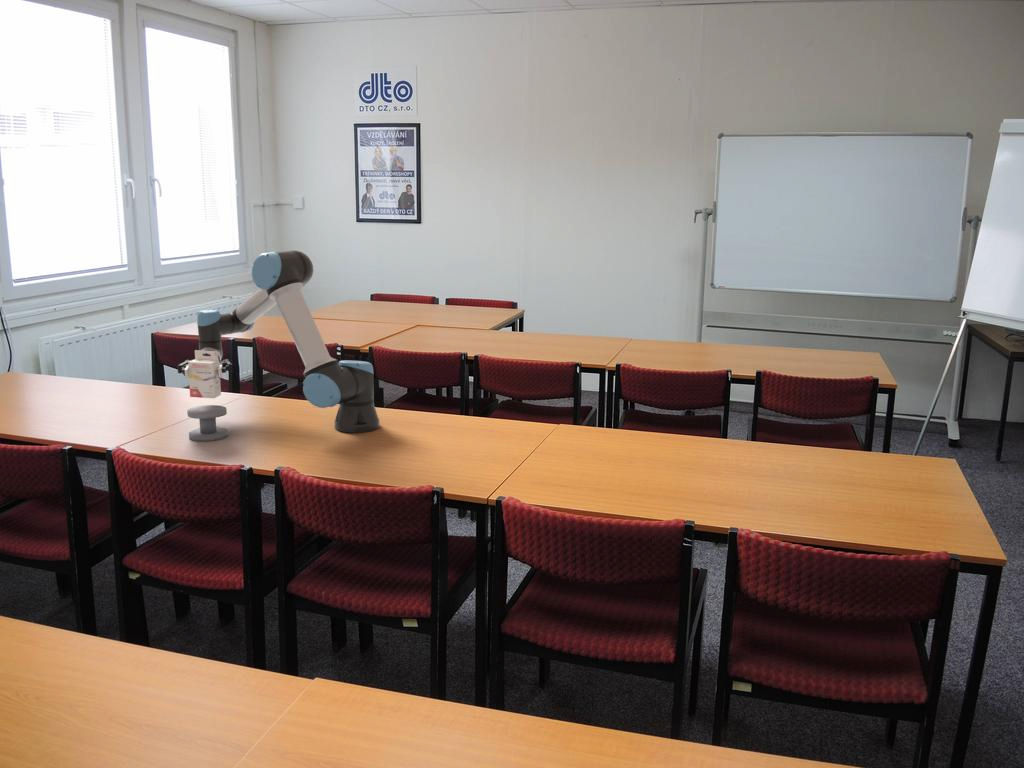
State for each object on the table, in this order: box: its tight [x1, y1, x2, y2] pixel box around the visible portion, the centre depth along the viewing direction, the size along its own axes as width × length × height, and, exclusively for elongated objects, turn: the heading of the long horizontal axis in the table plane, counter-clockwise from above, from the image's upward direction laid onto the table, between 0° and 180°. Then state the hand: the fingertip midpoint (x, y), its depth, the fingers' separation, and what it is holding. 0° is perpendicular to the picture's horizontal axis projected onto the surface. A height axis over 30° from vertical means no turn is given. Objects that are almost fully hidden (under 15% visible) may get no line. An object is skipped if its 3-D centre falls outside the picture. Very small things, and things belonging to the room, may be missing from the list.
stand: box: [186, 404, 229, 442], centre depth 271 cm, size 12×12×9 cm
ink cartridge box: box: [188, 349, 222, 399], centre depth 268 cm, size 9×5×15 cm, turn 83°
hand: (203, 373), depth 263 cm, fingers closed on ink cartridge box, 9 cm apart
